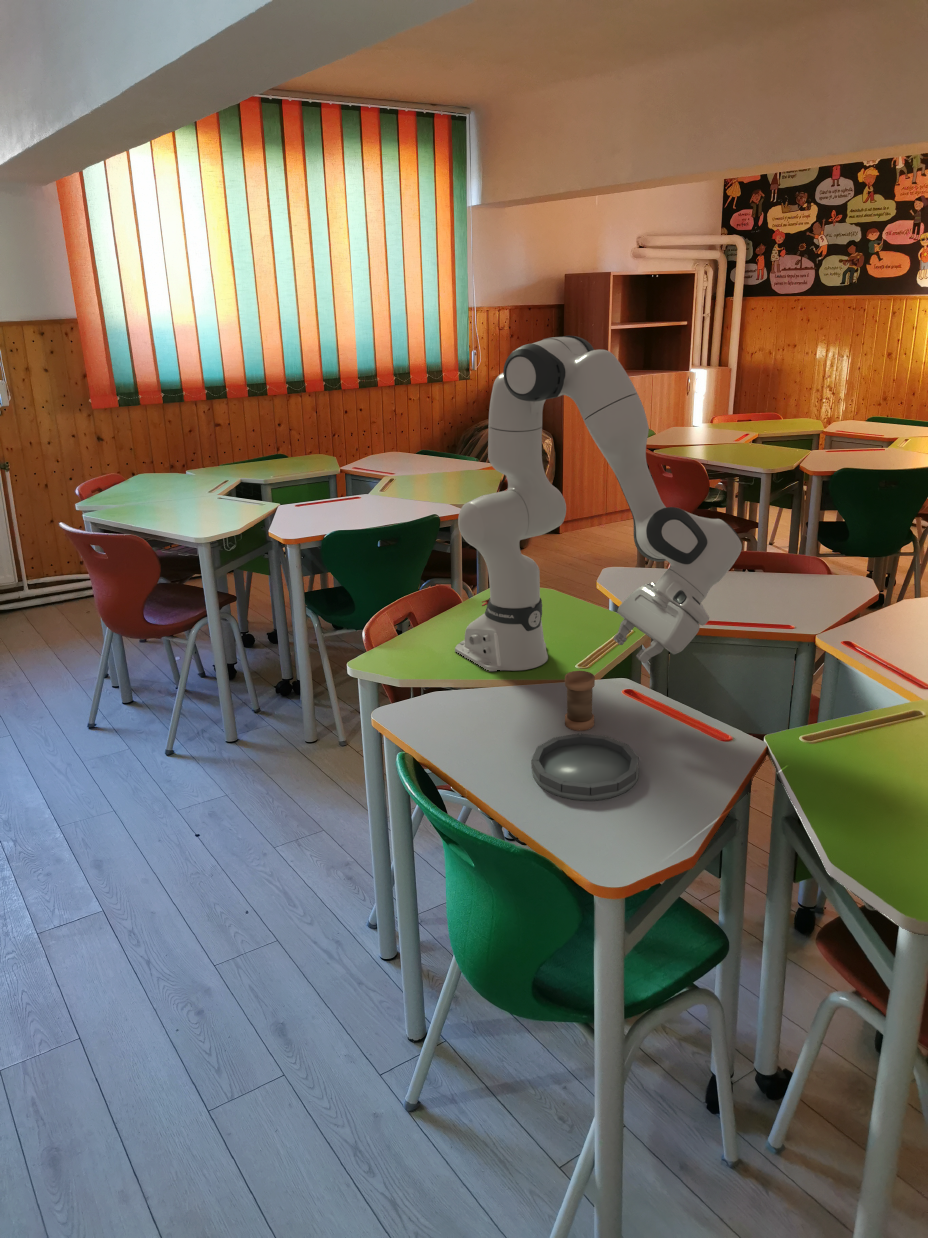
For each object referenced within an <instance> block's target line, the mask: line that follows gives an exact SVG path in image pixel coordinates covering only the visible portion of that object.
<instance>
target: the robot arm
mask: <svg viewBox="0 0 928 1238" xmlns="http://www.w3.org/2000/svg"><path fill="white" fill-rule="evenodd" d="M637 391H638V390H636V387H635V386H634V384H633V381H632V380H631V378H630V376H629V375H628V373H627V371H626V370H625V368H624V366H623V365H622V364H621V362H620V361H619V359H618V358H617V357H616V356H615V355H614V354H613V353H612V352H611V351H609V350H606V349H594V347H593V345H592V344H591V343H590V342H589V341H588V340H587V339H584V338H582V337H579V336H575V335H565V336H555V337H554V336H553V337H547V338H543V339H542V340H539V341H536V342H533V343H528V344H524V345H521V346H520V347H519V346H518V347H517V348H516V349H515V350H513V351H512V352H511V353H510V354H509V355H508V356H507V358H506V360H505V362H504V365H503V371H502V372H501V373H500V374H498V376H496V378H495V380H494V382H493V384H492V390H491V395H490V401H489V411H488V433H487V434H488V436H487V437H488V438H487V441H488V443H487V446H488V447H487V450H488V451H487V454H488V455H487V458H488V461H489V464H490V465H491V467H492V468H493V469H494V470H495V471H496V472H499V473H501V475H504V476H506V477H505V478H506V481H507V489H506V490H502V491H497V492H492V493H488V494H483V495H481V496H478V497H476V498H473V499H471V500H470V501H468V502H465V503H464V504H463V505H462V506H461V508H460V510H459V513H458V519H457V520H458V521H457V524H458V529H459V533H460V535H461V536H462V538H463V539H464V540H465V542H466V543H467V544H469V545H470V546H472V547H473V548H475V549H476V550H477V551H478V552H479V554H481V556H482V558H483V559H484V561H485V564H486V567H487V573H488V582H489V593H490V594H489V598H488V599H485V600H483V601H481V603H482V604H481V607H485V606H486V608H485V612H484V613H482V615H479V616H478V617H477V618H476V619H474V620H473V621H471V622H470V623H469V624H468V625H467V627H466V628H465V630H464V631H465V632H464V639H463V640H462V641H460V642H459V643H458V644H456V646H455V647H454V652H455V653H456V652H457V653H456V654H458V653H459V654H458V655H460V654H461V655H462V657H463V656H464V657H463V658H465V659H466V658H467V659H466V660H468V659H469V660H468V661H470V660H471V661H473V662H474V663H473V662H472V663H473V664H475V663H476V664H478V665H479V666H478V665H477V666H478V667H480V666H481V667H483V668H484V669H483V668H482V669H483V670H485V669H486V670H485V671H487V670H489V671H488V672H497V670H500V671H526V670H531V669H535V668H538V667H540V666H542V665H544V664H545V663H547V662H548V660H549V655H548V652H547V651H548V650H547V643H546V642H545V639H544V638H545V636H544V631H543V630H544V629H543V621H542V616H543V600H542V597H541V593H540V591H541V588H540V587H541V586H540V585H541V584H540V575H541V574H540V573H541V572H540V567H539V566H538V564H537V563H536V561H534V559H533V558H530V557H529V556H527V555H524V554H522V551H521V548H520V541H522V540H526V539H529V538H534V537H538V536H542V535H545V534H547V533H549V532H551V531H553V530H555V529H557V528H559V527H560V526H561V525H562V524H563V523H564V521H565V518H566V514H567V504H566V500H565V497H564V496H563V494H562V493H561V492H562V491H560V490H559V489H558V488H557V487H555V486H554V485H553V484H552V483H551V482H550V480H549V478H548V477H547V475H546V471H545V469H544V464H543V456H542V455H543V453H542V451H543V450H542V448H543V447H542V446H543V444H542V443H543V441H542V439H543V410H544V404H545V402H546V400H550V399H555V398H558V397H561V396H567V397H569V398H570V399H571V400H572V401H573V402H574V404H575V405H576V406H577V409H578V411H579V413H580V416H581V418H582V420H583V422H584V425H585V427H586V428H587V431H588V433H589V434H590V436H591V438H592V440H593V441H594V443H595V444H596V446H597V447H598V449H599V451H600V453H601V454H602V455H603V457H604V459H606V461H607V464H608V465H609V467H610V468H611V470H612V471H613V473H614V475H615V478H616V480H617V482H618V484H619V486H620V489H621V491H622V493H623V494H622V495H623V496H624V498H625V500H626V501H625V502H626V503H627V505H628V507H629V510H630V513H631V516H632V522H633V541H634V544H635V545H634V546H635V548H636V549H637V551H638V552H639V553H640V555H641V556H643V557H644V558H646V559H647V560H649V561H652V562H666V561H667V562H668V563H669V567H668V569H667V570H666V571H664V573H663V574H662V575H661V576H660V577H659V579H658V580H657V581H656V583H655V582H653V581H650V582H648V583H644V584H643V585H641V586H639V587H637V588H636V589H634V591H632V592H631V593H630V594H629V596H627V597H626V599H625V598H624V600H623V601H622V602H621V604H620V605H619V606H618V609H617V614H618V615H620V617H621V618H623V619H622V621H621V622H620V625H619V627H618V632H617V633H616V634H615V635H614V637H613V641H615V642H616V643H617V644H618V645H620V646H623V645H624V644H625V643H626V642H627V640H628V638H627V636H628V634H629V631H631V632H632V630H633V629H634V628H636V629H638V630H639V631H640V632H642V633H643V634H645V636H647V637H649V638H650V639H652V640H651V642H650V646H648V647H647V648H645V649H644V650H643V649H640V650H639V652H638V653H637V654H636V656H635V657H636V659H638V661H640V662H641V663H643V664H647V662H649V660H650V659H651V658H653V657H655V656H657V655H659V654H661V653H662V652H663V651H664V649H666V650H667V651H668V652H669V653H671V654H672V655H677V654H679V653H681V652H682V651H684V649H685V648H687V646H688V645H689V644H690V643H691V642H692V640H693V639H694V638H695V637H696V635H697V634H698V633H699V631H700V628H701V627H700V626H705V625H706V624H707V623H708V622H709V621H710V616H709V614H708V612H707V611H706V609H705V607H704V605H703V604H702V602H703V601H704V600H705V599H706V597H707V596H708V593H709V591H710V590H711V589H712V588H713V586H714V585H716V584H718V583H719V582H720V581H722V579H723V578H724V577H725V576H726V574H727V573H728V571H730V569H731V568H732V567H733V566H734V564H735V562H736V561H737V559H738V558H739V557H740V554H741V552H742V548H743V545H742V541H741V539H740V537H739V534H738V533H737V532H736V530H735V529H734V528H733V527H732V526H731V524H728V523H727V522H726V521H725V520H723V519H720V518H709V517H704V516H698V515H696V514H693V513H692V512H691V513H690V512H688V511H686V510H684V509H682V508H679V507H674V506H670V507H666V505H665V504H664V503H663V500H662V499H661V496H660V494H659V492H658V489H657V487H656V484H655V481H654V479H653V477H652V474H651V472H650V470H649V467H648V463H647V453H646V452H647V442H648V438H649V437H648V436H649V431H650V430H649V429H650V428H649V426H650V425H649V422H648V419H647V414H646V410H645V409H644V405H643V403H642V401H641V398H640V395H639V393H638V392H637ZM461 655H460V656H461ZM471 661H470V662H471ZM476 664H475V665H476ZM481 667H480V668H481Z"/></svg>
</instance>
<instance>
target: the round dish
mask: <svg viewBox="0 0 928 1238" xmlns="http://www.w3.org/2000/svg"><path fill="white" fill-rule="evenodd" d="M639 763H640V759H639V756H638V755H637V753H636V752H635V751H634V750H633V749H632V748H631V747H630V746H629V744H627V743H625V742H622V741H620V740H617V739H614V738H612V737H611V736H608V735H602V734H601V735H599V734H591V733H583V732H581V733H573V734H566V735H559V736H555V737H553V738H550V739H549V740H547V741H545V742H543V743H541V744H540V745H538V746H537V747H536V749H535V751H534V754H533V755H532V757H531V773H532V777H533V780H534V782H536V784H537V785H538V786H539V787H540V788H542V789H543V790H544V791H546V792H548V793H550V794H551V795H554V796H557V797H561V798H563V799H568V800H573V801H590V802H592V801H603V800H608V799H612V798H615V797H618V796H621V795H624V794H625V793H626V792H629V791H630V790H631V789H633V787H634V786H635V785H636V783H637V782H638V780H639V769H640V768H639V766H640V765H639Z"/></svg>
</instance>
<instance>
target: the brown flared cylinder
mask: <svg viewBox="0 0 928 1238" xmlns="http://www.w3.org/2000/svg"><path fill="white" fill-rule="evenodd" d="M595 678H596V677H595V674H594V673H591V672H589V671H585V670H574V671H573V670H572V671H570V672H567V673H566V674H565V675H564V686H565V687H566V713H565V715H564V726H565V727H566V728H567V729H569V730H571V731H577V732H580V731H581V732H583V731H588V730H590V729H592V728H593V727H594V726H595V714H594V713H593V689H594V687H595V684H596V682H595Z"/></svg>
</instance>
